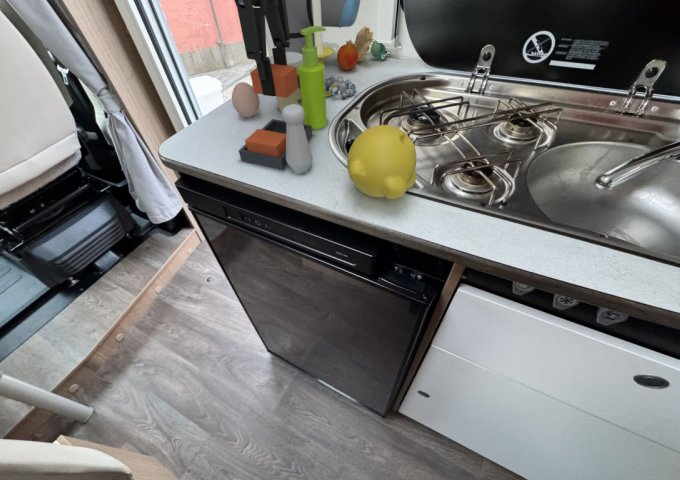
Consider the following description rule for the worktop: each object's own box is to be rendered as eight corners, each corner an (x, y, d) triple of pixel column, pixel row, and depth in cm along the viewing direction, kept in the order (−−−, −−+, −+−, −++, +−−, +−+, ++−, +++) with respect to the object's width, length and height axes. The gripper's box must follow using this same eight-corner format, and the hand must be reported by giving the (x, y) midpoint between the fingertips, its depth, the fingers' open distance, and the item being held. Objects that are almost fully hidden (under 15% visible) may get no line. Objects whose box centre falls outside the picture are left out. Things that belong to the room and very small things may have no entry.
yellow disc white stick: (298, 90, 91) (284, -35, 69) (323, 80, 94) (316, -41, 73) (319, 100, 86) (311, -31, 64) (344, 89, 89) (344, -38, 68)
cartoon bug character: (343, 69, 108) (378, 75, 113) (365, 52, 92) (405, 61, 97) (345, 37, 105) (381, 46, 110) (368, 14, 89) (409, 25, 94)
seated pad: (261, 144, 72) (257, 128, 68) (290, 150, 69) (288, 134, 66) (249, 156, 69) (244, 140, 65) (279, 163, 66) (276, 146, 63)
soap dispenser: (334, 123, 77) (331, 27, 62) (311, 131, 75) (302, 35, 60) (322, 115, 81) (316, 22, 65) (300, 122, 79) (289, 28, 63)
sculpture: (418, 192, 47) (377, 113, 44) (357, 223, 55) (319, 158, 52) (438, 169, 58) (406, 105, 55) (385, 198, 66) (355, 143, 63)
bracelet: (334, 79, 92) (336, 71, 90) (361, 91, 89) (362, 84, 88) (316, 88, 86) (317, 80, 85) (344, 101, 84) (345, 94, 83)
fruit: (355, 64, 101) (356, 35, 95) (359, 72, 97) (360, 42, 91) (335, 66, 101) (335, 38, 94) (338, 74, 97) (338, 45, 90)
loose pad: (267, 83, 67) (263, 62, 64) (298, 87, 65) (296, 66, 62) (254, 93, 64) (249, 72, 61) (286, 98, 62) (283, 76, 59)
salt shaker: (282, 172, 65) (271, 111, 55) (294, 158, 68) (286, 98, 58) (306, 177, 64) (299, 116, 53) (317, 163, 67) (312, 102, 56)
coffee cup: (304, 115, 81) (298, 65, 71) (272, 114, 82) (262, 64, 73) (312, 100, 86) (308, 51, 77) (281, 99, 88) (274, 51, 78)
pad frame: (274, 128, 77) (272, 118, 75) (312, 135, 74) (311, 125, 72) (241, 161, 69) (238, 150, 67) (283, 170, 66) (281, 159, 64)
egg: (252, 107, 85) (244, 75, 79) (267, 115, 82) (260, 81, 76) (231, 116, 83) (221, 83, 76) (246, 124, 79) (237, 91, 73)
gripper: (236, -69, 40) (270, 110, 58) (298, -81, 50) (310, 75, 68) (192, -67, 42) (238, 105, 60) (260, -79, 52) (282, 71, 70)
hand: (276, 89), depth 64 cm, fingers closed on loose pad, 5 cm apart
